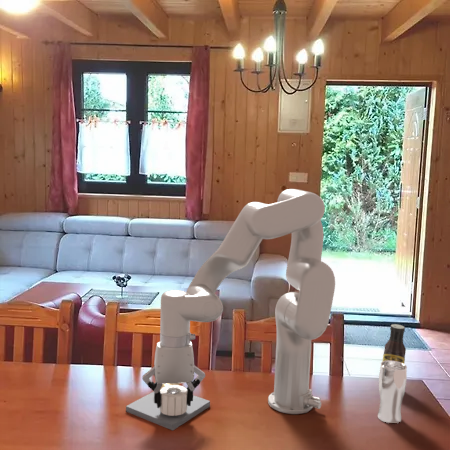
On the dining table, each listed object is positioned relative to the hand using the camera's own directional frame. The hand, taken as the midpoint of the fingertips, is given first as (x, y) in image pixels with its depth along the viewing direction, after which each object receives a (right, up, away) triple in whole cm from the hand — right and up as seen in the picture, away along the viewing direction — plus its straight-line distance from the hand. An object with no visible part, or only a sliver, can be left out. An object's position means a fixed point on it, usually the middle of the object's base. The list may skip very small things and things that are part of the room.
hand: (173, 404), depth 139 cm
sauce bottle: (+63, -3, +22) cm, 67 cm away
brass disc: (-3, -1, +10) cm, 11 cm away
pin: (0, -2, 0) cm, 2 cm away
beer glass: (+57, -5, +4) cm, 58 cm away
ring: (0, -1, 0) cm, 1 cm away
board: (-2, -3, +5) cm, 6 cm away
